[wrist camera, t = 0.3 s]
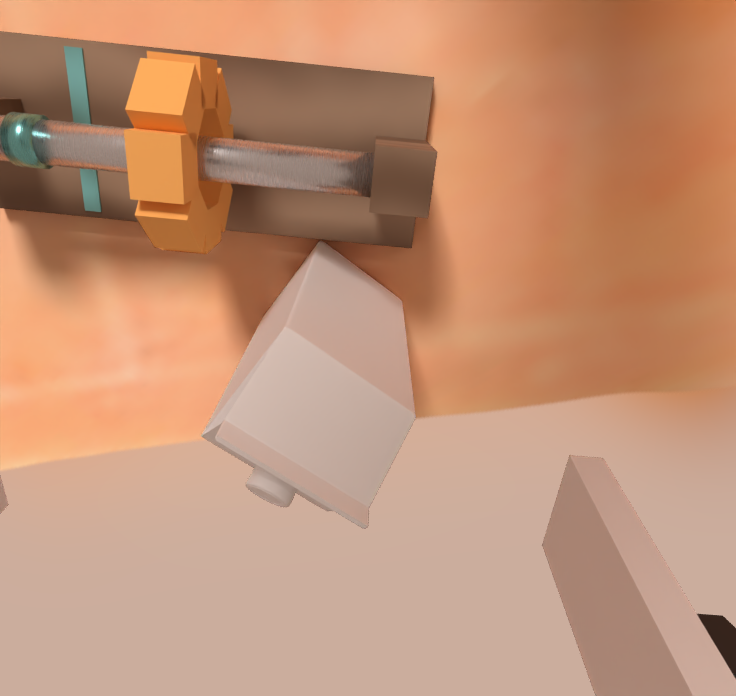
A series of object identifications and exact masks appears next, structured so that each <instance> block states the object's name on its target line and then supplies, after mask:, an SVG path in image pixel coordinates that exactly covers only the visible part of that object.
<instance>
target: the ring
mask: <svg viewBox="0 0 736 696" xmlns="http://www.w3.org/2000/svg"><path fill="white" fill-rule="evenodd" d="M125 110H126V112H127V114H128V116H129V118H130V120H131V122H132V124H133V126H134V128H132V129H125V130H124V138H125V149H126V160H127V171H128V181H129V192H130V199H133V200H139V201H138V205H137V208H136V212H135V217H136V218H137V220H138V221H139V223H140V225H141V226H142V228H143V229H144V231H145V233H146V234H147V236H148V237H149V239H150V241H151V242H152V244H153V245H154V247H155V248H161V250H169V251H180V252H190V253H200V254H207V253H208V252H209V251H211V250H212V249H213V248H214V247H215V246H216V245H217V244H218V243H219V242H220V241H221V232H225V228H226V222H227V217H228V212H229V207H230V202H231V197H232V192H233V189H232V186H231V184H230V183H220V182H210V181H200V180H198V162H197V139H198V135H201V136H211V137H221V138H231V139H233V124H229V121H230V116H231V111H232V109H231V105H230V101H229V97H228V93H227V89H226V85H225V81H224V77H223V72H222V68H217V60H214V59H209V58H205V57H200V56H191V55H181V54H172V53H162V52H153V51H147V58H140V61H139V64H138V67H137V71H136V74H135V78H134V81H133V84H132V88H131V91H130V95H129V98H128V101H127V105H126V108H125Z"/></svg>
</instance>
